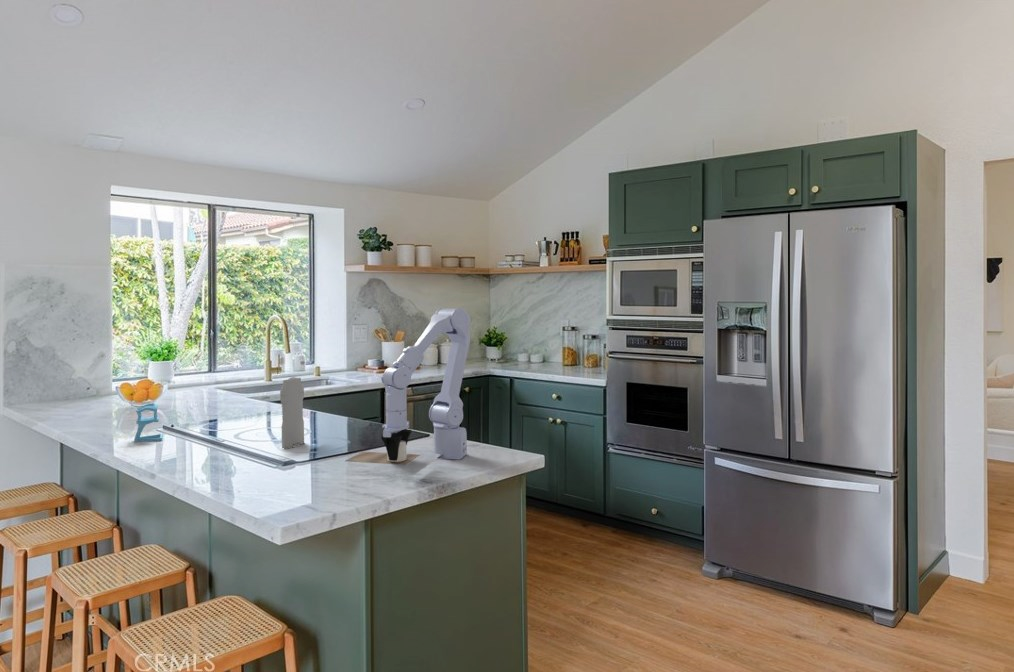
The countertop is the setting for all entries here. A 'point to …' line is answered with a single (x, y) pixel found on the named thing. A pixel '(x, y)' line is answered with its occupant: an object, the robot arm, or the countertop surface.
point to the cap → (400, 452)
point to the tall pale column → (292, 412)
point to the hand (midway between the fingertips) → (396, 457)
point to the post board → (378, 458)
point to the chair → (145, 421)
